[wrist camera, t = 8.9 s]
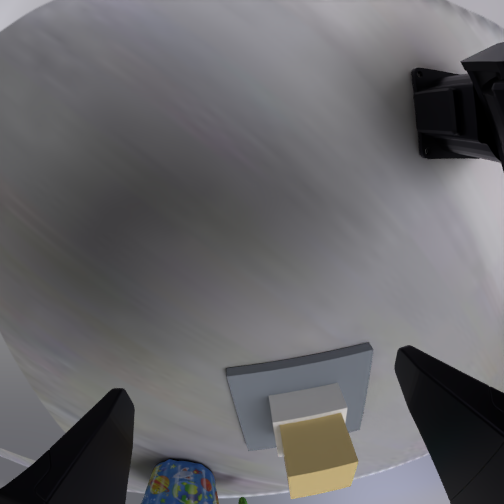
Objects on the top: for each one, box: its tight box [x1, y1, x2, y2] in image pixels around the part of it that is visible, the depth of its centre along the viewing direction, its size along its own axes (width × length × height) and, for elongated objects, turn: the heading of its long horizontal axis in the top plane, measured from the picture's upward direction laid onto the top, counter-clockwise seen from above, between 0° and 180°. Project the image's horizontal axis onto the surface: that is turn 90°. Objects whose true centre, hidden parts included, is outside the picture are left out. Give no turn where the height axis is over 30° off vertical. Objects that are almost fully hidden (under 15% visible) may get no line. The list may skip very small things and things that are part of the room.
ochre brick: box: [280, 413, 358, 499], centre depth 20 cm, size 5×5×5 cm
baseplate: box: [227, 343, 373, 451], centre depth 25 cm, size 12×12×1 cm
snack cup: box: [141, 459, 247, 504], centre depth 25 cm, size 16×10×10 cm
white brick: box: [269, 383, 347, 457], centre depth 23 cm, size 6×6×3 cm
